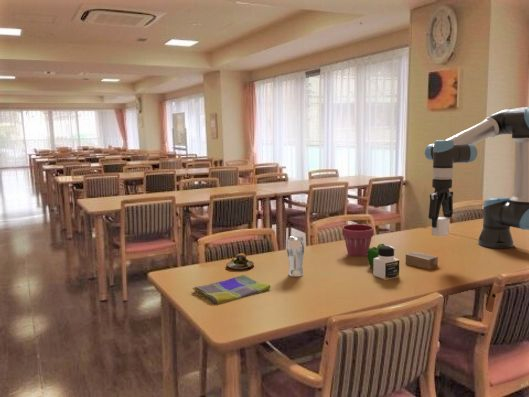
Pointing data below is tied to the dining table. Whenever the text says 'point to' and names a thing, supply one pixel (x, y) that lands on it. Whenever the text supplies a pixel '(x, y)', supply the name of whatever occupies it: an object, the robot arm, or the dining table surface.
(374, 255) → the bell pepper
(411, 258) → the walnut base block
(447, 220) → the white cup
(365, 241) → the plant pot
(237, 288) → the dish towel
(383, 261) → the medicine bottle
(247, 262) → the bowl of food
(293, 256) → the beer glass
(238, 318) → the dining table surface
